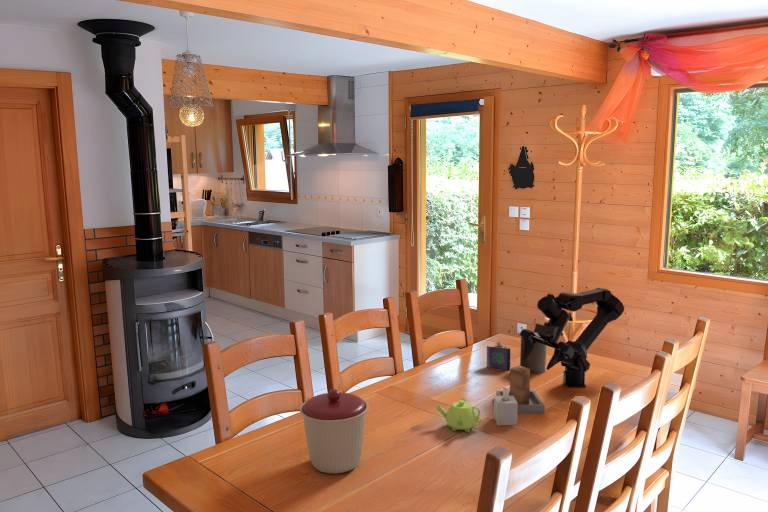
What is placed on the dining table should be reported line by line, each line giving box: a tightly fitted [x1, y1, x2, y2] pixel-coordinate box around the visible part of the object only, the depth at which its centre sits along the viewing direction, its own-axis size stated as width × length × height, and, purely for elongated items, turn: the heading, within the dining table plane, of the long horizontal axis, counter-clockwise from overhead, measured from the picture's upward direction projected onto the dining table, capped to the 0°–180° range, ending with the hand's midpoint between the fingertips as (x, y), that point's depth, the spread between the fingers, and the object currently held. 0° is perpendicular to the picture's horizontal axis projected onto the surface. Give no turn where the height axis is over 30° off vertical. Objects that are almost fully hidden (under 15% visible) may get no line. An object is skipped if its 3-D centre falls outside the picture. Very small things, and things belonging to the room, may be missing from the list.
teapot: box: [436, 398, 483, 433], centre depth 186 cm, size 11×12×8 cm
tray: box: [495, 389, 545, 415], centre depth 202 cm, size 13×13×3 cm
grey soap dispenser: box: [493, 385, 518, 426], centre depth 190 cm, size 6×6×11 cm
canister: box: [299, 388, 369, 475], centre depth 164 cm, size 18×18×21 cm
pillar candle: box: [519, 331, 547, 375], centre depth 236 cm, size 10×10×15 cm
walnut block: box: [509, 365, 531, 405], centre depth 202 cm, size 4×4×12 cm
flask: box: [486, 341, 511, 372], centre depth 238 cm, size 9×3×11 cm, turn 65°
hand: (535, 364), depth 207 cm, fingers open, 9 cm apart
